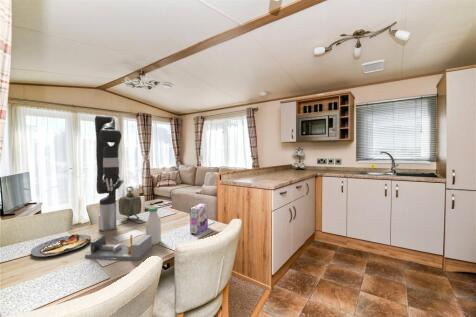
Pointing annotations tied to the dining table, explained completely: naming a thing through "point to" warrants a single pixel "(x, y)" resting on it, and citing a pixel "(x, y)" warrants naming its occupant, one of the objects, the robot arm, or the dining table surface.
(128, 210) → the tabletop clock
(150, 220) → the milk bottle
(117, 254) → the base
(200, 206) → the candy box
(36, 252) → the food plate
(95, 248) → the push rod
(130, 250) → the needle
